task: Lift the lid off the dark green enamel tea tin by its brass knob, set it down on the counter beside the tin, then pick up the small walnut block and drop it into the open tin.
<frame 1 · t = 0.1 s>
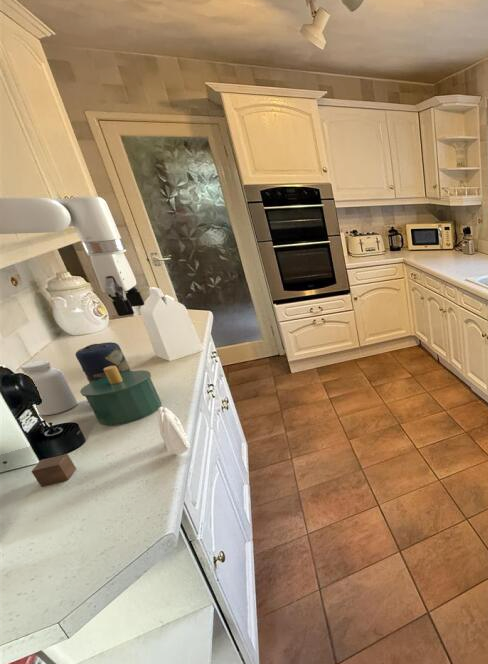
hand: (132, 310, 109), 29 cm above the countertop, tool pointing down, fingers open, 9 cm apart
block: (59, 477, 89), on the countertop
tea tin: (131, 412, 115), on the countertop
milk: (180, 353, 155), on the countertop
canister: (121, 397, 123), on the countertop
tin lid: (117, 383, 111), point 9 cm above the countertop, touching tea tin
pill bottle: (60, 409, 118), on the countertop
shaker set: (179, 447, 99), on the countertop
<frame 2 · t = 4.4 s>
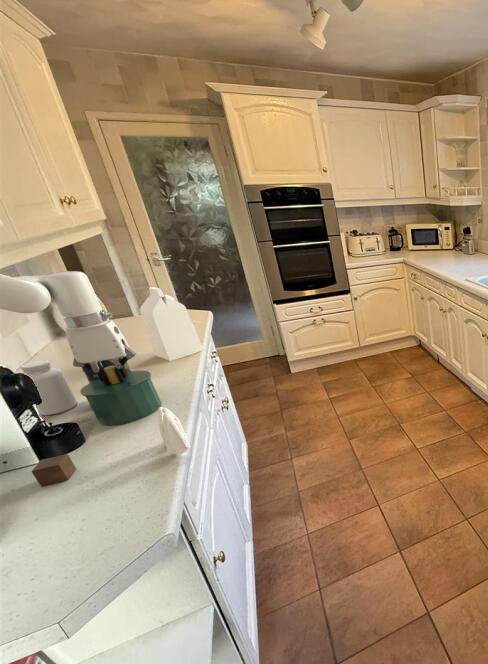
hand: (116, 381, 110), 10 cm above the countertop, tool pointing down, fingers closed on tin lid, 2 cm apart
tin lid: (117, 383, 111), point 10 cm above the countertop, touching gripper, tea tin
everything else where it was.
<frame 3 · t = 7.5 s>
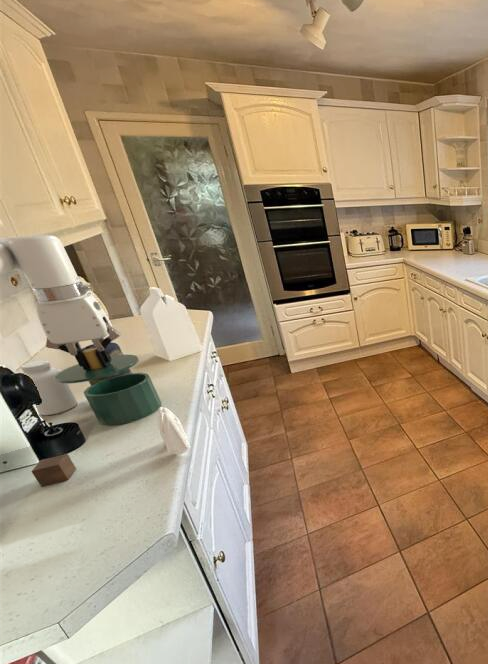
hand: (97, 365, 95), 21 cm above the countertop, tool pointing down, fingers closed on tin lid, 2 cm apart
tin lid: (99, 369, 96), point 20 cm above the countertop, touching gripper
everything else where it was.
when the fingers open (1 cm above the countertop, at t = 11.1 s): tin lid stays where it is, point 1 cm above the countertop.
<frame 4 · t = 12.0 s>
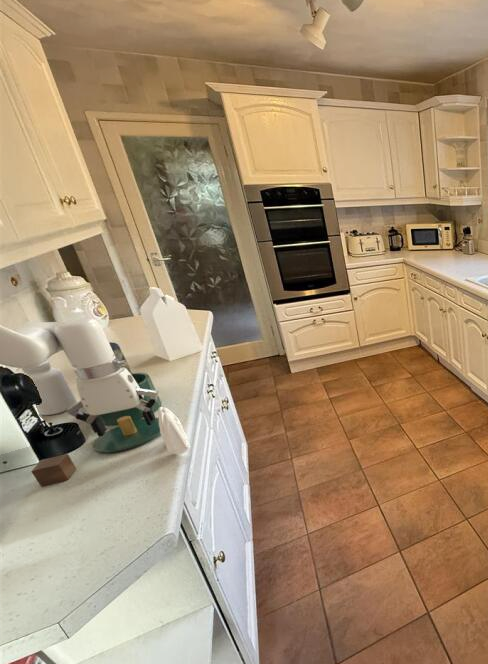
hand: (127, 428, 102), 3 cm above the countertop, tool pointing down, fingers open, 9 cm apart
tin lid: (131, 434, 103), point 1 cm above the countertop
everything else where it was.
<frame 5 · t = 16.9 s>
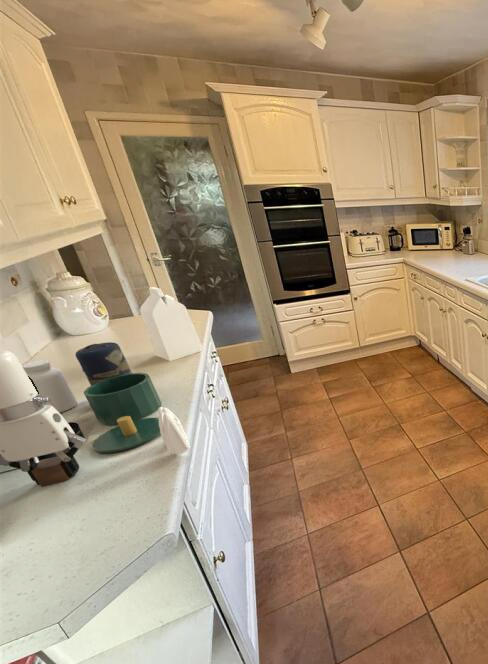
hand: (58, 476, 89), 0 cm above the countertop, tool pointing down, fingers closed on block, 4 cm apart
block: (59, 477, 89), on the countertop, touching gripper
everything else where it was.
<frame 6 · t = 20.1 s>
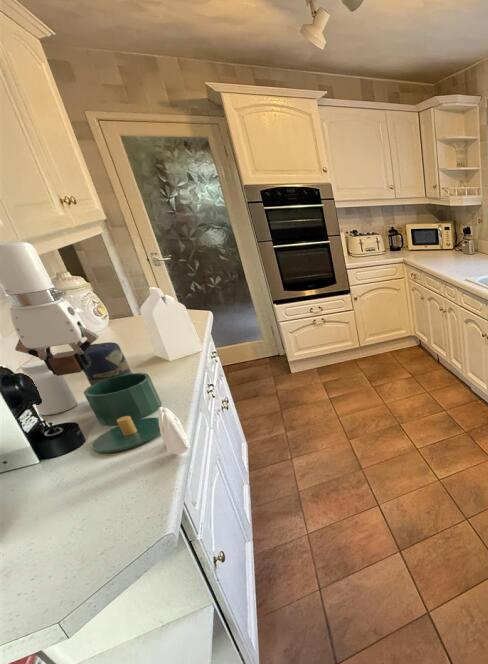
hand: (72, 369, 97), 19 cm above the countertop, tool pointing down, fingers closed on block, 4 cm apart
block: (73, 370, 97), point 19 cm above the countertop, touching gripper
everything else where it was.
when the fingers open (9 cm above the countertop, at t = 23.7 s): block drops 8 cm, resting on tea tin.
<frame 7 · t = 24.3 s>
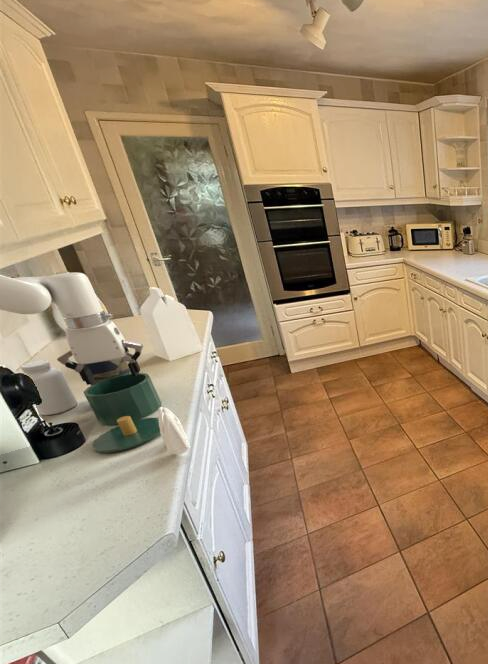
hand: (114, 378, 110), 11 cm above the countertop, tool pointing down, fingers open, 9 cm apart
block: (130, 411, 114), resting on tea tin
everything else where it was.
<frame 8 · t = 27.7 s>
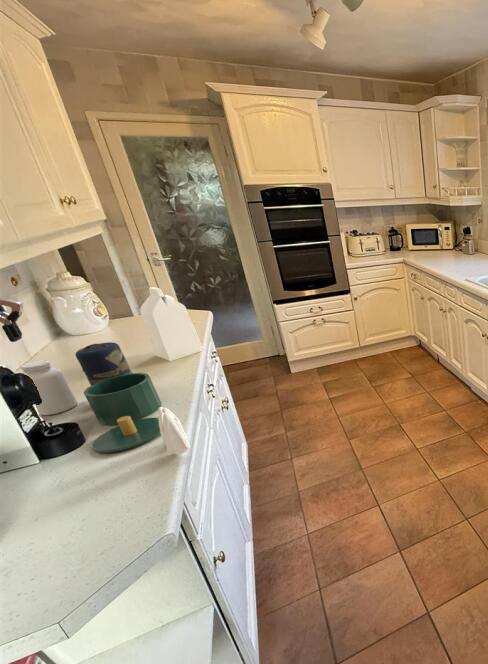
nothing on the countertop moved.
at the end: tin lid point 0.6 cm above the countertop; tin lid inside the target area (0.0 cm from its centre), point 0.6 cm above the countertop; block inside the target area in the tea tin (0.0 cm from its centre), point 0.5 cm above the tea tin's base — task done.
